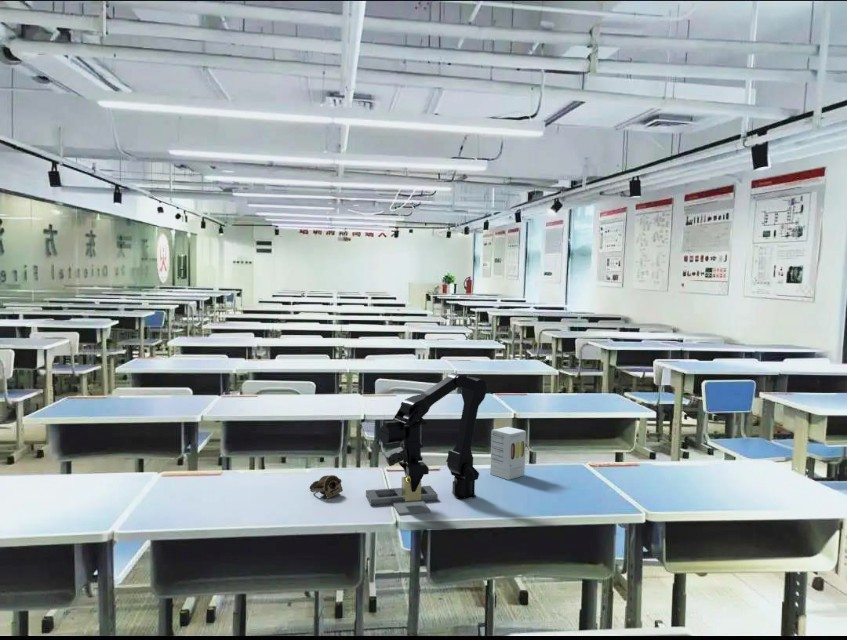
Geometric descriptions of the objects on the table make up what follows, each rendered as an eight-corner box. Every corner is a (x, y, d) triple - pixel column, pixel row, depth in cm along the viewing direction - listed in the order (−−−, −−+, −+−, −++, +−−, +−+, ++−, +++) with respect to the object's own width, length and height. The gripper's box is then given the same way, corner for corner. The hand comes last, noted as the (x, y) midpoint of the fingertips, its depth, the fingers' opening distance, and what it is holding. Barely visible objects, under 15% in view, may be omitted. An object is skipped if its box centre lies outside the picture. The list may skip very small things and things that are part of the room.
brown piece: (312, 485, 201) (342, 475, 205) (304, 470, 213) (333, 461, 216) (316, 505, 203) (346, 495, 206) (309, 489, 215) (337, 480, 218)
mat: (422, 501, 203) (422, 499, 203) (430, 512, 194) (430, 510, 194) (392, 503, 201) (392, 501, 201) (398, 514, 191) (398, 513, 191)
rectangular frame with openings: (430, 491, 213) (430, 485, 213) (437, 500, 204) (437, 494, 204) (365, 496, 207) (365, 490, 207) (370, 505, 199) (370, 499, 198)
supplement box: (508, 480, 226) (509, 434, 225) (489, 474, 233) (490, 429, 232) (525, 475, 232) (526, 430, 231) (506, 469, 239) (507, 425, 238)
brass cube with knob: (416, 494, 200) (417, 469, 200) (420, 499, 195) (421, 474, 195) (401, 495, 199) (401, 470, 198) (405, 501, 194) (405, 475, 194)
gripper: (380, 434, 203) (380, 481, 204) (393, 449, 185) (392, 501, 186) (414, 432, 206) (413, 479, 207) (429, 447, 188) (428, 498, 189)
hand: (411, 488), depth 197 cm, fingers closed on brass cube with knob, 5 cm apart
